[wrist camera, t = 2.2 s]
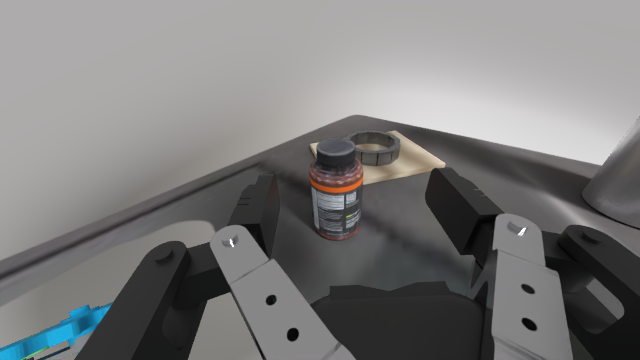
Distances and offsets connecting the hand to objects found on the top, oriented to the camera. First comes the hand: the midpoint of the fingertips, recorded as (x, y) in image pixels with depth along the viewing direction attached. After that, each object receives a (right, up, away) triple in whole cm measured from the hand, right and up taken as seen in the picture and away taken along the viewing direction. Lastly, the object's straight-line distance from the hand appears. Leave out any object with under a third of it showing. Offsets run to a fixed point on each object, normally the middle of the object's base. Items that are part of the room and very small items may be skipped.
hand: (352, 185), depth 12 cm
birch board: (+8, +5, +32) cm, 33 cm away
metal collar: (+8, +5, +32) cm, 33 cm away
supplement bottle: (0, -6, +18) cm, 18 cm away
